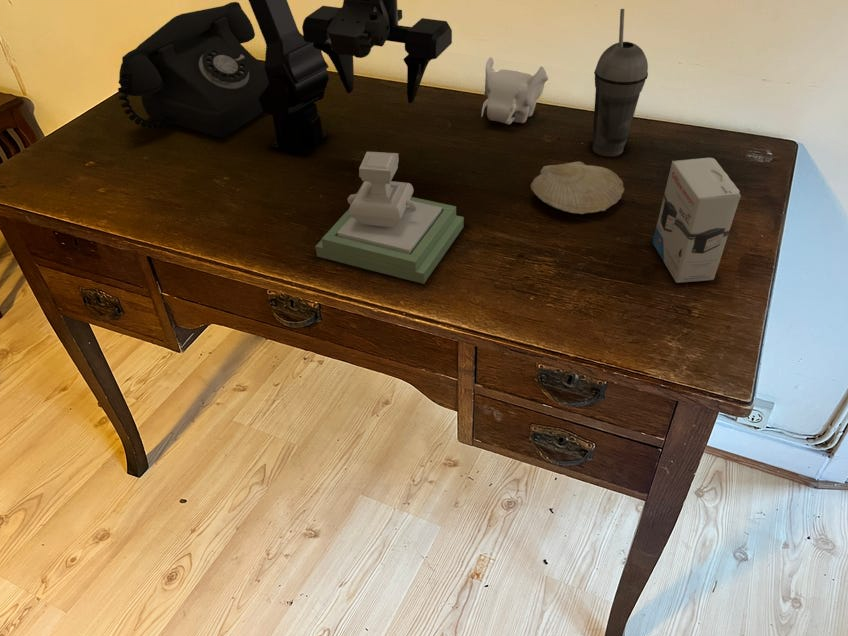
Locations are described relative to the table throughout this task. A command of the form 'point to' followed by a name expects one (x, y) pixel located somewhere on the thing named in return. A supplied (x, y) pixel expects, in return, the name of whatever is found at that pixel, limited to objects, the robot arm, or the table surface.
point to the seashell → (578, 187)
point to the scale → (393, 261)
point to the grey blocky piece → (380, 192)
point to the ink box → (695, 219)
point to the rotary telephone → (196, 72)
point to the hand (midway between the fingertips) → (380, 96)
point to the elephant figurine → (511, 93)
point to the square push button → (394, 230)
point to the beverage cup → (617, 93)
